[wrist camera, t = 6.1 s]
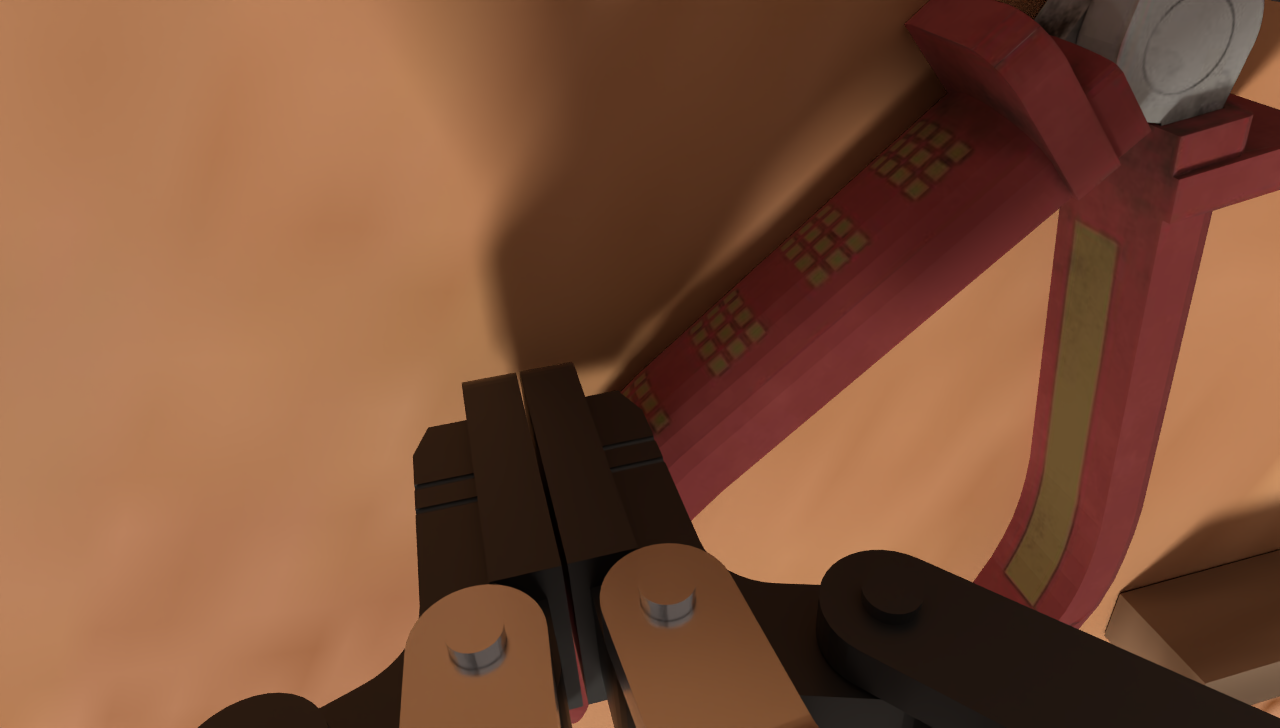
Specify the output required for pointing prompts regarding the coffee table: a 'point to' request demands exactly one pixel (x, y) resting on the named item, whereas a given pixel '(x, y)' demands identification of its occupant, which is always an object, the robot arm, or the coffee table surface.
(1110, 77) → the pliers
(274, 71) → the coffee table surface
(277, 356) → the coffee table surface
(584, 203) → the coffee table surface
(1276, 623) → the tool rest
